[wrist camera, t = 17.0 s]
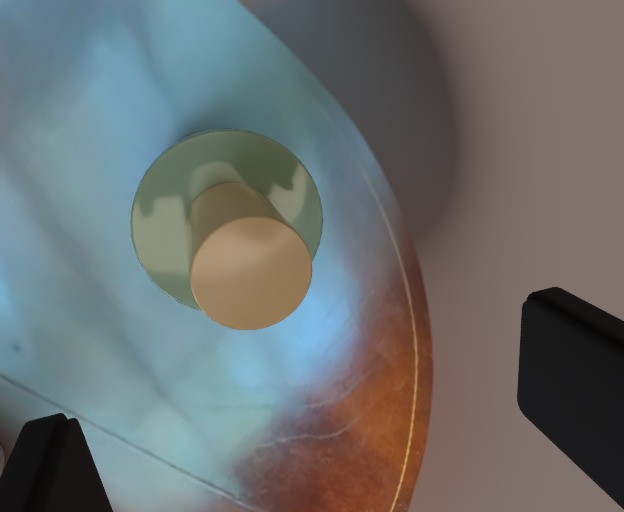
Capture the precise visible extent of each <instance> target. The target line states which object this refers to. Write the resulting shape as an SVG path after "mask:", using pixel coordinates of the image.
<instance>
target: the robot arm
mask: <svg viewBox="0 0 624 512" xmlns="http://www.w3.org/2000/svg"><path fill="white" fill-rule="evenodd" d="M517 401H518V405H519V407H520V410H521V411H522V413H523V414H524V415H525V417H527V419H529V420H530V421H531V422H532V423H533V424H534V425H535V426H536V427H537V428H538V429H539V430H540V431H541V432H542V433H543V434H544V435H545V436H546V437H548V438H549V439H550V440H551V441H552V442H553V443H554V444H555V445H556V446H557V447H558V448H559V449H560V450H561V451H562V452H564V453H565V454H566V455H567V456H568V457H569V458H570V459H571V460H572V461H573V462H574V463H575V464H576V465H577V466H578V467H579V468H580V469H581V470H583V471H584V472H585V473H586V474H587V475H588V476H589V477H590V478H591V479H592V480H593V481H594V482H595V483H596V484H597V485H598V486H599V487H600V488H602V489H603V490H604V491H605V492H606V493H607V494H608V495H609V496H610V497H611V498H612V499H613V500H614V501H615V502H617V504H618V505H620V506H621V507H622V508H623V509H624V321H622V320H620V319H619V318H617V317H615V316H613V315H611V314H609V313H607V312H605V311H603V310H601V309H599V308H598V307H596V306H594V305H592V304H590V303H588V302H586V301H584V300H582V299H580V298H578V297H576V296H575V295H572V294H571V293H569V292H567V291H565V290H563V289H561V288H558V287H552V288H548V289H544V290H540V291H537V292H532V293H531V294H529V296H528V298H527V301H525V302H524V303H523V306H522V319H521V337H520V356H519V374H518V393H517ZM0 512H113V510H112V508H111V505H110V503H109V500H108V497H107V495H106V492H105V489H104V487H103V484H102V482H101V479H100V476H99V474H98V471H97V468H96V466H95V463H94V461H93V458H92V455H91V453H90V450H89V447H88V445H87V442H86V440H85V437H84V434H83V432H82V429H81V426H80V424H79V422H78V420H77V419H76V418H71V419H68V420H67V418H66V416H65V415H64V414H63V413H58V414H54V415H51V416H47V417H43V418H39V419H35V420H31V421H28V422H26V423H25V425H24V426H23V428H22V430H21V432H20V435H19V437H18V439H17V441H16V443H15V446H14V448H13V450H12V452H11V455H10V457H9V459H8V461H7V463H6V466H5V468H4V470H3V472H2V475H1V477H0Z"/></svg>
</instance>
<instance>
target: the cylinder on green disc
mask: <svg viewBox="0 0 624 512" xmlns="http://www.w3.org/2000/svg"><path fill="white" fill-rule="evenodd" d="M322 224H323V217H322V206H321V200H320V196H319V193H318V190H317V187H316V185H315V183H314V181H313V179H312V177H311V175H310V174H309V172H308V171H307V169H306V168H305V166H304V165H303V164H302V163H301V162H300V160H299V159H298V158H297V157H296V156H295V155H294V154H292V153H291V152H290V151H289V150H288V149H286V148H285V147H283V146H282V145H280V144H279V143H277V142H276V141H274V140H272V139H270V138H268V137H266V136H263V135H261V134H258V133H255V132H252V131H247V130H241V129H230V128H223V129H212V130H207V131H203V132H199V133H196V134H193V135H190V136H188V137H186V138H184V139H182V140H180V141H178V142H176V143H174V144H173V145H172V146H170V147H169V148H168V149H166V150H165V151H164V152H163V153H162V154H161V155H159V156H158V157H157V158H156V159H155V160H154V162H153V163H152V164H151V165H150V167H149V168H148V169H147V171H146V172H145V174H144V176H143V178H142V179H141V181H140V183H139V186H138V189H137V191H136V194H135V197H134V201H133V206H132V211H131V236H132V241H133V246H134V249H135V252H136V255H137V258H138V260H139V262H140V264H141V266H142V267H143V269H144V271H145V272H146V274H147V275H148V276H149V278H150V279H151V280H152V281H153V282H154V283H155V284H156V286H157V287H158V288H159V289H161V290H162V291H163V292H164V293H166V294H167V295H168V296H170V297H171V298H173V299H174V300H176V301H178V302H180V303H182V304H184V305H186V306H188V307H191V308H194V309H198V310H201V311H203V312H204V313H205V314H206V315H207V316H208V317H210V318H211V319H212V320H214V321H215V322H217V323H219V324H221V325H223V326H226V327H229V328H232V329H238V330H256V329H262V328H265V327H269V326H271V325H274V324H276V323H278V322H280V321H281V320H283V319H285V318H286V317H287V316H289V315H290V314H291V313H292V312H293V311H294V310H295V309H296V308H297V307H298V306H299V305H300V303H301V302H302V300H303V299H304V297H305V295H306V293H307V291H308V288H309V285H310V282H311V277H312V261H313V259H314V257H315V255H316V252H317V249H318V246H319V243H320V238H321V234H322Z"/></svg>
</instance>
